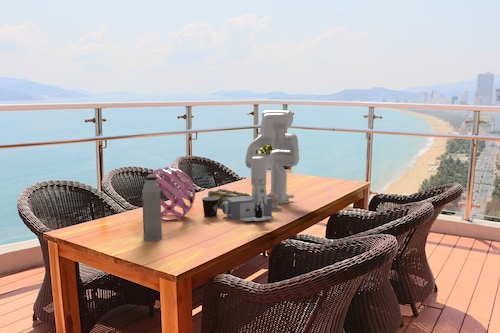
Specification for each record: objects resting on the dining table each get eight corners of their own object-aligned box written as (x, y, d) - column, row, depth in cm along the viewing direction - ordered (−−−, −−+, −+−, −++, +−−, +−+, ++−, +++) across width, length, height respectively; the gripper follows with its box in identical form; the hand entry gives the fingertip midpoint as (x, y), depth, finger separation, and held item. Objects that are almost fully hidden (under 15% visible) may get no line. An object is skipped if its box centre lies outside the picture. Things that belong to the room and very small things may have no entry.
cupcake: (270, 206, 271) (270, 189, 269) (282, 209, 264) (282, 191, 263) (259, 209, 264) (259, 191, 263) (271, 212, 258) (271, 194, 256)
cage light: (219, 187, 287) (256, 194, 267) (220, 200, 288) (256, 207, 269) (202, 190, 276) (239, 198, 257) (202, 204, 278) (239, 212, 258)
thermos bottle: (142, 241, 206) (140, 178, 201) (145, 236, 213) (143, 175, 209) (160, 241, 206) (159, 178, 202) (162, 235, 214) (161, 175, 210)
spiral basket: (139, 189, 221) (179, 153, 234) (122, 193, 245) (159, 160, 258) (177, 232, 229) (213, 195, 241) (157, 232, 252) (191, 198, 265)
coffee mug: (206, 219, 241) (205, 201, 240) (199, 216, 249) (199, 197, 248) (226, 217, 247) (226, 198, 245) (219, 213, 254) (219, 195, 253)
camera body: (265, 212, 256) (265, 193, 254) (271, 217, 246) (272, 197, 245) (221, 216, 248) (220, 196, 247) (226, 221, 239) (225, 200, 237)
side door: (265, 215, 245) (273, 216, 233) (265, 218, 245) (273, 219, 233) (238, 217, 240) (246, 219, 228) (239, 220, 240) (246, 221, 228)
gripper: (271, 183, 224) (270, 220, 227) (260, 178, 238) (260, 213, 241) (256, 184, 222) (256, 222, 225) (246, 179, 236) (246, 214, 239)
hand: (258, 217), depth 233 cm, fingers closed
